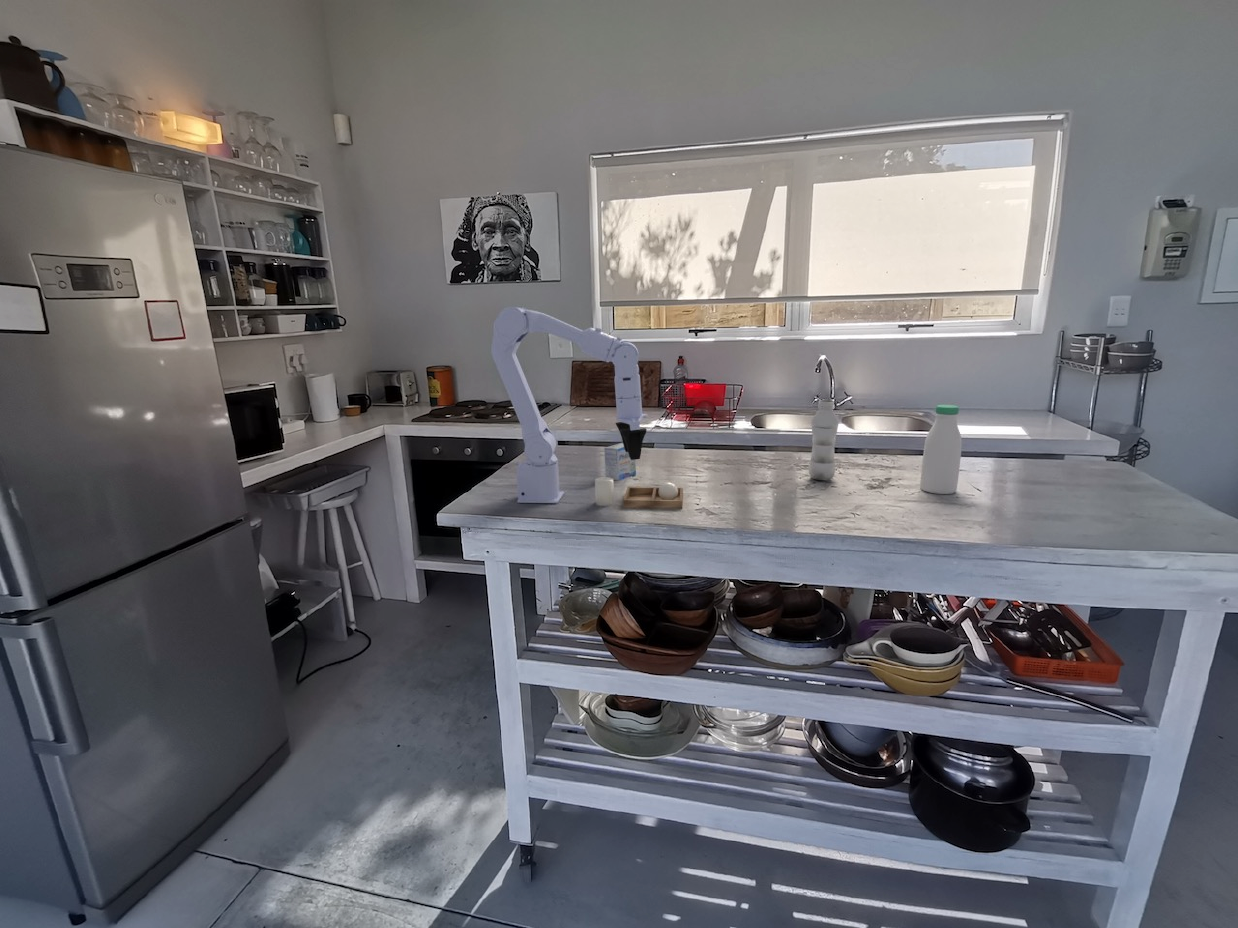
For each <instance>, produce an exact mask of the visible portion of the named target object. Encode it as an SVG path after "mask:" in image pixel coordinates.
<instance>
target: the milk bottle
mask: <svg viewBox="0 0 1238 928" xmlns="http://www.w3.org/2000/svg"><path fill="white" fill-rule="evenodd" d="M959 412H960V407H959V406H958V405H953V404H938V405H936V407H935V414H934V415H935V420H934V423H933V425H932V426H931V428H930V429H929V430H928V432H927V434H926V438H925V441H924V446H923V455H922V462H921V463H922V464H921V472H920V481H919V482H920V483H919V488H920V490H922V491H924V492H927V493H931V494H938V495H952V494H954V493H956V492H957V489H958V481H959V477H960V476H959V474H960V466H961V458H962V449H963V448H962V447H963V440H962V435H961V433H960V432H961V431H960V430H959V427H958V423H957V418H958V417H959Z"/></svg>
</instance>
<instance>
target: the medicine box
mask: <svg viewBox="0 0 1238 928" xmlns="http://www.w3.org/2000/svg"><path fill="white" fill-rule="evenodd" d="M636 460H637V459H635V460H631V459H630V456H629V453H628V452H626V451H625V449H624V445H623V441H622V442H620V443H616V444H613V445H609V446H607V447H604V470H605V471H604V472H605V474H604V477H610V478H613V479H614V480H615V481H620V480H623V479H625V478H629V477H631V476H632V477H634V476H636V475H637V463H636V462H637V461H636ZM633 475H634V476H633Z"/></svg>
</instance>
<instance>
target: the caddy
mask: <svg viewBox="0 0 1238 928" xmlns="http://www.w3.org/2000/svg"><path fill="white" fill-rule="evenodd" d="M659 488H660V486H659V487H658V486H657V487H654V486H652V487H651V486H647V487H646V486H627V488H626V491H625V494H624V496H623V499H622V507H623V509H624V508H625V509H626V508H627V509H632V508H633V509H678V510H679V509H680V510H682V509H683V502H684V501H683V500H684V488H683V487H677V489H678V495H677V497H676V498H675V499H674V500H662V499H661V498H660V496H659Z"/></svg>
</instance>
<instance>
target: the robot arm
mask: <svg viewBox="0 0 1238 928" xmlns="http://www.w3.org/2000/svg"><path fill="white" fill-rule="evenodd" d="M540 332H543V333H548V334H550V335H552V336H555V337H558V338H561V339H564V340H566V341H569V342H572V343H573V344H577V345H578V346H579V348H580V351H581V352H582V353H583V354H585V355H587V356H591V357H593V358H595V359H598V360H601V361H602V362H606V363H610V362H612V364H613V365H614V374H615V376H614V380H613V381H614V390H615V391H614V392H615V404H616V405H615V406H616V417H615V418H616V421H617V422H615V425H616V428H617V430H618V431H619V433H620V436H621V441H622V442H623V445H624V449H625V451H626V452H628V453H629V456H630V459H631V460H635V459H636V460H640V459H641V455H642V447H643V441H644V438H645V436H646V433H647V431H648V430H647V428H646V427H642V428H641V427H640V424H641V422H642V421H643V419H648V418H649V415H648V414H647V413H643V405H642V390H641V389H642V388H641V376H640V374H639V373H640V367H639V365H638V364H639V359H640V355H639V354H640V353H639V350H638V348H637V346H636V345H635V344H633V343H631V342H630V340H622V339H623V337H621V336H617V337H615V336H613V335H610V334H609V333H606V332H603V328H601V327H599V326H596V328H593V327H588V328H586V329H584V330H583V329H580V328H578V327H575V326H574V325H571V324H569V323H566V322H565V321H563V320H560V319H558V318H556V317H553V316H551V315H549V314H547V313H543V312H540V311H536V310H532V309H527V308H526V307H522V306H516V307H515V306H509V307H508V306H507V307H505V308H503V309H502V310H501V311H500V312H499V313H498V316H496V319H495V320H494V322H493V335H492V341H491V347H490V354H491V356H492V359H493V361H494V363H495V365H496V369H497V371H498V373H499V376H500V378H501V380H502V383H503V386H504V388H505V390H506V392H507V395H508V397H509V401H510V402H511V404H512V407H513V409H514V412H515V414H516V416H517V420H518V421H519V424H520V426H521V427H520V428H521V435H522V440H523V444H524V450H523V451H524V455H525V458H526V461H519V463H518V464H517V467H516V485H517V486H516V489H517V501H516V502H517V503H520V504H522V503H524V504H526V503H527V504H530V503H531V504H557V503H559V501H560V500H561V499H562V497H563V496H564V494H565V492H564V491H563V490H560V480H559V478H560V477H559V462H558V460H559V459H558V458H557V456H556V454H555V452H556V450H557V448H558V445H559V444H558V441H559V440H558V437H557V436H556V435H555V434H554V432H552V431H551V430H550V428H549V427H548V424H547V423H546V421H545V420H544V419H543V418H542V416H541V413H540V411H539V407H538V405H537V403H536V400H535V397H534V395H533V393H532V391H531V388H530V386H529V383H528V381H527V378H526V376H525V373H524V371H523V369H522V366H521V364H520V361H519V359H518V357H517V351H518V349H519V347H520V345H521V343H522V341H523V339H524V338H525V337H526V336H527V335H528V334H532V333H540Z"/></svg>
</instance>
